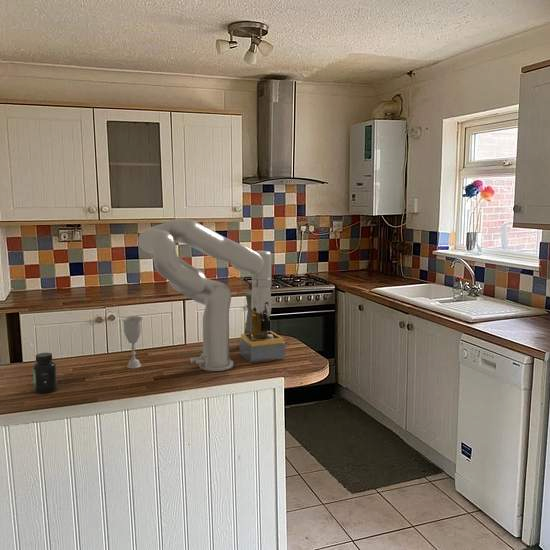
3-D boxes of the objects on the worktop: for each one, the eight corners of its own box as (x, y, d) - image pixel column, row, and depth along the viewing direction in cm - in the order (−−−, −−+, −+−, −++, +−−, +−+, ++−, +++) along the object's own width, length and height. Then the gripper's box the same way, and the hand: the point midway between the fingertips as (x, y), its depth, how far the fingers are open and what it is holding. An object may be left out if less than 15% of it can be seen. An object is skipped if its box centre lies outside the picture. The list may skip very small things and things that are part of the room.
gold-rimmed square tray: (251, 362, 202) (250, 342, 201) (239, 353, 214) (239, 333, 212) (290, 357, 208) (290, 337, 207) (277, 348, 220) (277, 329, 219)
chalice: (120, 367, 196) (117, 319, 193) (131, 362, 202) (129, 315, 200) (136, 370, 194) (134, 321, 191) (147, 364, 200) (146, 317, 197)
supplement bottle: (32, 394, 170) (29, 358, 168) (37, 387, 176) (35, 352, 174) (54, 393, 171) (52, 357, 169) (59, 386, 177) (57, 351, 176)
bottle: (253, 342, 230) (252, 277, 226) (268, 346, 224) (268, 279, 220) (238, 346, 224) (238, 280, 219) (254, 350, 218) (254, 282, 213)
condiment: (251, 335, 212) (250, 305, 210) (272, 334, 213) (272, 305, 211) (252, 340, 205) (251, 309, 203) (274, 339, 206) (274, 309, 204)
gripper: (244, 280, 212) (245, 324, 215) (260, 287, 197) (261, 335, 199) (262, 279, 215) (262, 322, 218) (279, 285, 200) (279, 332, 202)
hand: (261, 328), depth 209 cm, fingers closed on condiment, 6 cm apart
